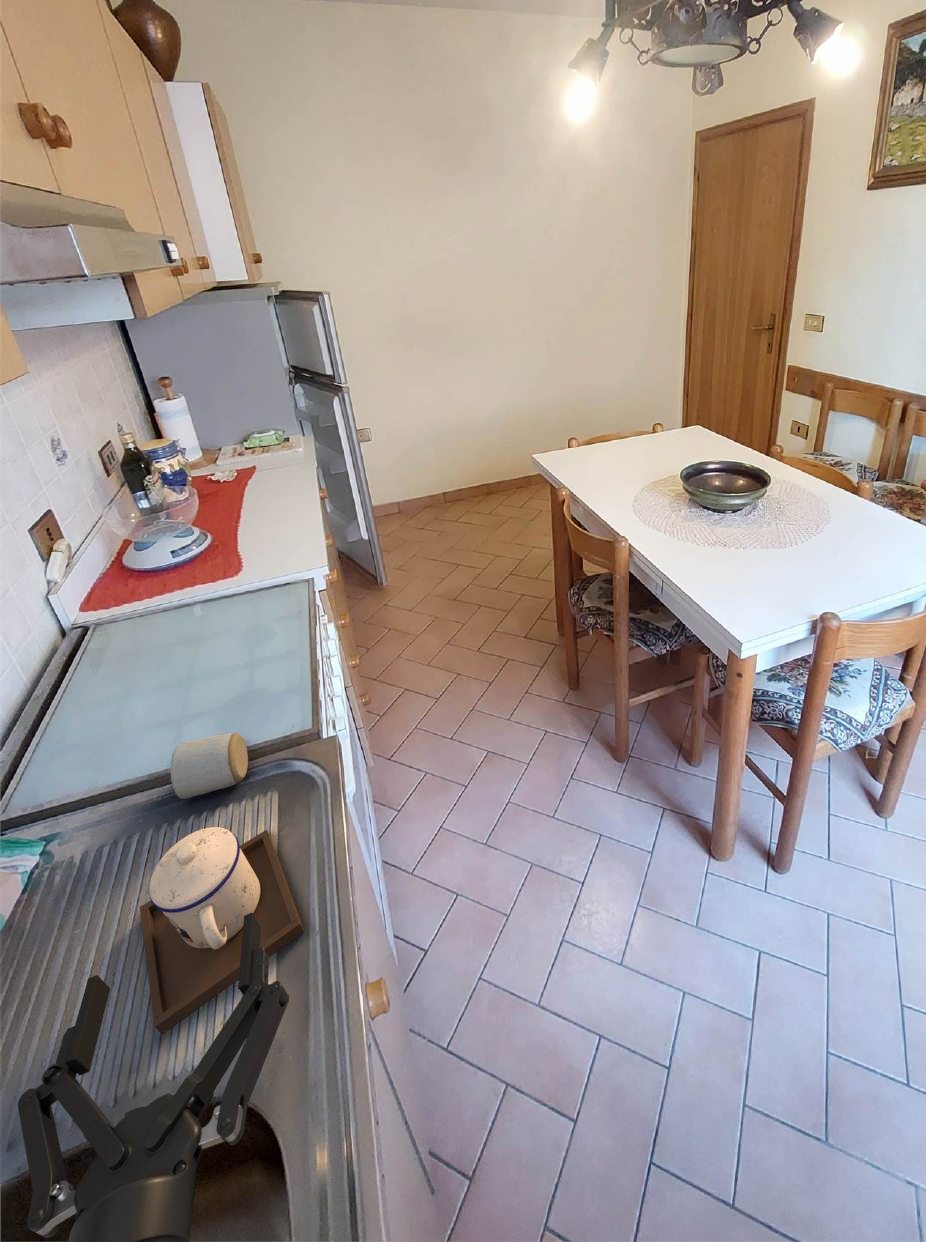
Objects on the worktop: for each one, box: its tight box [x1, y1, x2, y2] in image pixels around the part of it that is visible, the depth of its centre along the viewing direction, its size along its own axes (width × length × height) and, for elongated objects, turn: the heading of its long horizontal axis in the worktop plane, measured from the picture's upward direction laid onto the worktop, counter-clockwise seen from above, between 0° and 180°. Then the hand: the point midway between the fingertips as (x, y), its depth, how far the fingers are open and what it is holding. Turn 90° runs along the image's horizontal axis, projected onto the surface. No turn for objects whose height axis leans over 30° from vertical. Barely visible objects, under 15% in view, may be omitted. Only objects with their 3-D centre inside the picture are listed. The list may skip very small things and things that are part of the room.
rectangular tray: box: [139, 829, 305, 1035], centre depth 68 cm, size 15×15×2 cm
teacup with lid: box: [148, 826, 260, 949], centre depth 65 cm, size 12×9×12 cm
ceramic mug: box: [169, 732, 249, 800], centre depth 85 cm, size 11×8×8 cm
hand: (178, 951), depth 57 cm, fingers open, 13 cm apart
